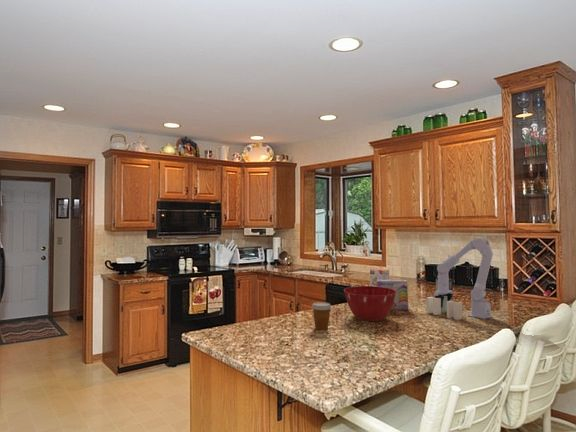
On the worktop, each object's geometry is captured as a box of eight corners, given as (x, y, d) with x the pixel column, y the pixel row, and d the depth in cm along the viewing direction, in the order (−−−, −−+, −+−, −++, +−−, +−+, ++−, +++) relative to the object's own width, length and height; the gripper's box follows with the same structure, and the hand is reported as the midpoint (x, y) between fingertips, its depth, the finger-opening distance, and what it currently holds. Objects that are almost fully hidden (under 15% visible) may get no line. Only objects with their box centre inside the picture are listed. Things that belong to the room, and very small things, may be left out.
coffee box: (450, 303, 261) (449, 278, 261) (453, 305, 254) (453, 279, 255) (435, 302, 262) (435, 278, 262) (438, 304, 255) (438, 279, 255)
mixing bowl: (398, 326, 203) (398, 295, 203) (342, 323, 208) (342, 293, 209) (395, 313, 230) (394, 286, 231) (345, 311, 236) (345, 285, 236)
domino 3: (447, 311, 235) (447, 296, 236) (442, 312, 233) (442, 297, 233) (445, 311, 237) (445, 295, 237) (439, 312, 234) (439, 296, 234)
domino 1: (434, 312, 233) (434, 297, 233) (428, 313, 230) (428, 297, 231) (431, 312, 235) (431, 296, 235) (426, 313, 232) (426, 297, 232)
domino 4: (454, 317, 222) (454, 300, 222) (449, 318, 219) (449, 301, 219) (452, 316, 223) (452, 300, 223) (446, 317, 220) (446, 301, 221)
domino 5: (462, 318, 218) (462, 302, 218) (456, 319, 215) (456, 303, 216) (459, 318, 219) (459, 301, 220) (454, 319, 217) (453, 302, 217)
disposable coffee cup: (315, 331, 193) (315, 306, 193) (309, 326, 202) (309, 302, 202) (334, 329, 195) (333, 305, 196) (327, 325, 205) (326, 301, 205)
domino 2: (440, 314, 229) (440, 298, 230) (435, 315, 227) (435, 299, 227) (438, 313, 231) (438, 297, 231) (432, 314, 228) (432, 298, 228)
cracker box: (369, 298, 278) (369, 268, 278) (376, 297, 280) (376, 267, 281) (382, 301, 265) (382, 270, 265) (389, 301, 268) (389, 269, 268)
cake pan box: (375, 309, 243) (375, 280, 243) (375, 307, 248) (375, 278, 248) (408, 310, 238) (408, 281, 239) (407, 308, 243) (407, 279, 243)
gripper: (445, 281, 242) (445, 304, 242) (429, 283, 234) (429, 307, 234) (455, 283, 236) (455, 306, 236) (440, 285, 229) (440, 309, 228)
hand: (443, 306), depth 235 cm, fingers open, 5 cm apart
